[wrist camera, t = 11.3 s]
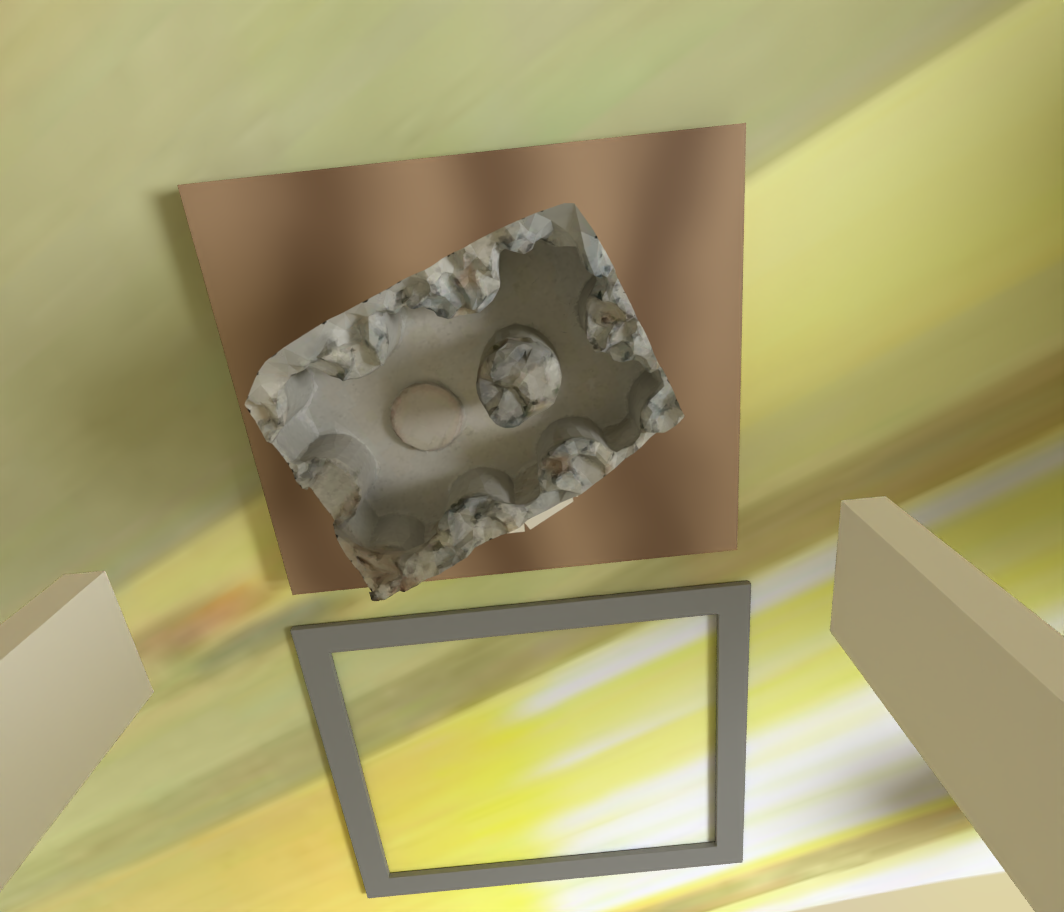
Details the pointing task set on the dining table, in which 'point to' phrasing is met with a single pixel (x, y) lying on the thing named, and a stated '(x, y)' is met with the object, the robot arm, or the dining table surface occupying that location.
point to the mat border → (519, 619)
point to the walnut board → (450, 225)
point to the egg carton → (466, 398)
